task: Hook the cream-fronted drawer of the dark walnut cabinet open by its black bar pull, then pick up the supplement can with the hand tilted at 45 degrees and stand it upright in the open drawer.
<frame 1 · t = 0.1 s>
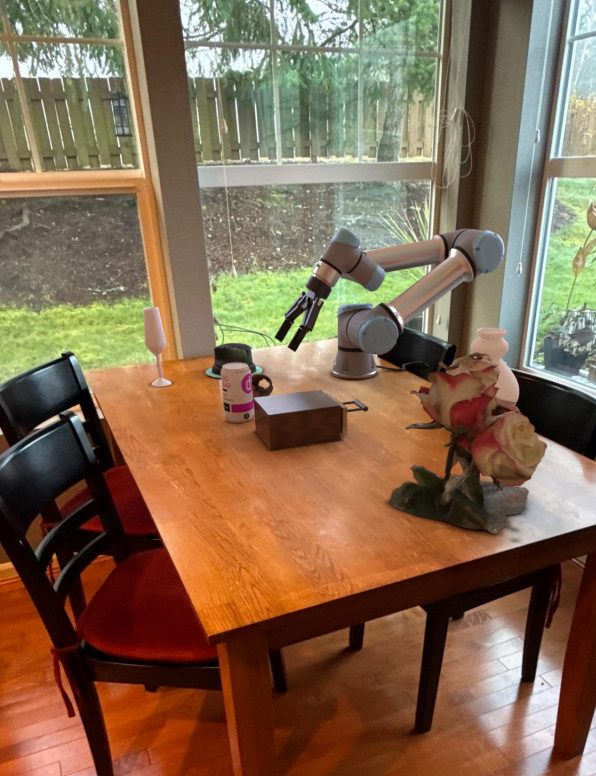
hand: (284, 344, 190), 15 cm above the table, tool tilted 35°, fingers open, 13 cm apart
cabinet: (297, 435, 166), on the table
champagne flute: (161, 384, 210), on the table
dark green rounded hat: (234, 372, 221), on the table
rose bouquet: (468, 500, 132), on the table
drawer: (319, 415, 165), point 5 cm above the table, slide at 1.0 cm
supplement can: (239, 419, 178), on the table
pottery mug: (254, 398, 195), on the table
decorative vase: (480, 425, 171), on the table
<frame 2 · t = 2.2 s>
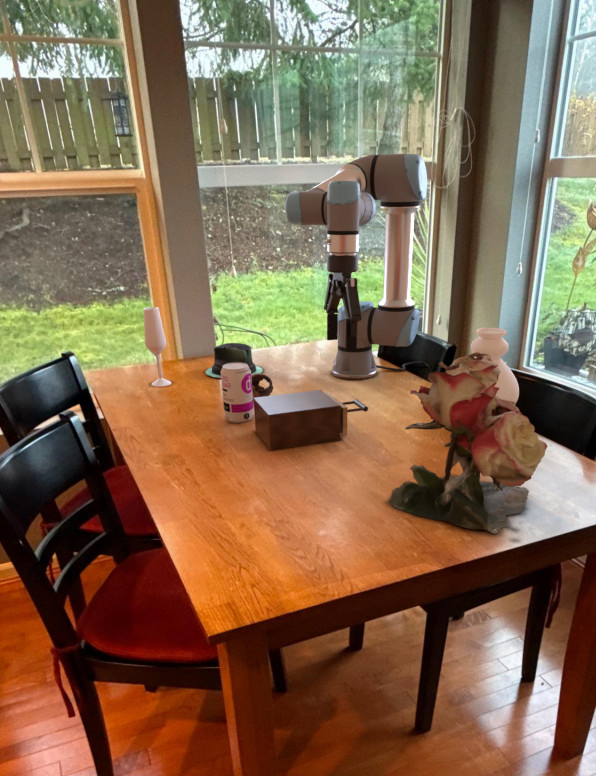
hand: (341, 344, 161), 22 cm above the table, tool pointing down, fingers open, 13 cm apart
nothing on the table moved.
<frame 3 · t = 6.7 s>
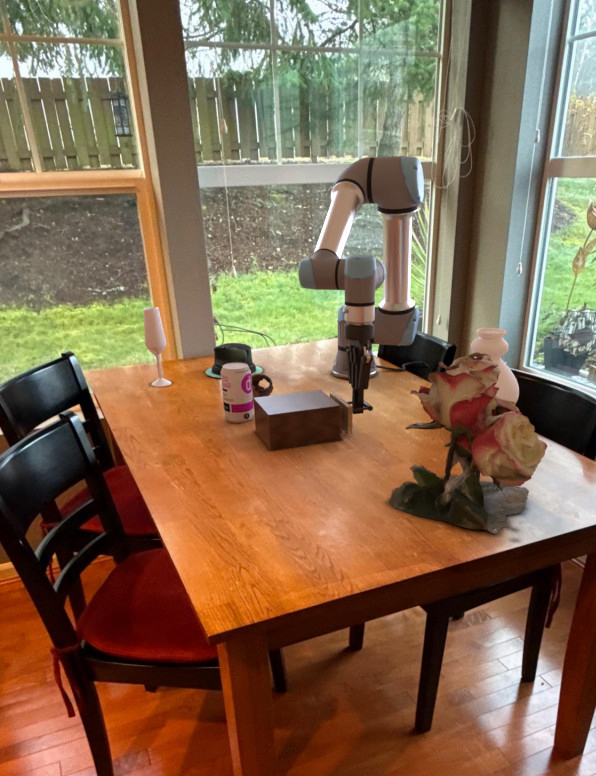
hand: (357, 412, 169), 4 cm above the table, tool pointing down, fingers closed
drawer: (324, 415, 166), point 5 cm above the table, slide at 2.4 cm, touching gripper
everything else where it was.
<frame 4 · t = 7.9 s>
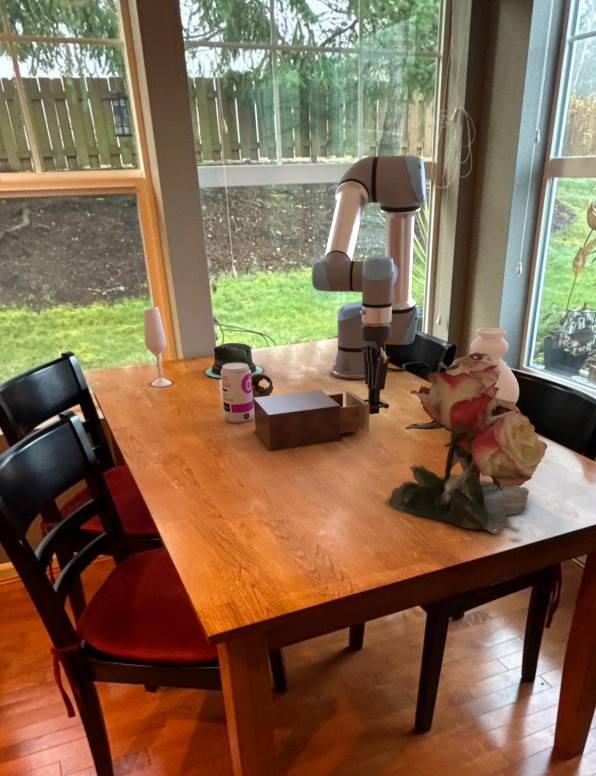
hand: (373, 412, 171), 3 cm above the table, tool pointing down, fingers closed
drawer: (341, 412, 167), point 5 cm above the table, slide at 7.1 cm, touching gripper
everything else where it was.
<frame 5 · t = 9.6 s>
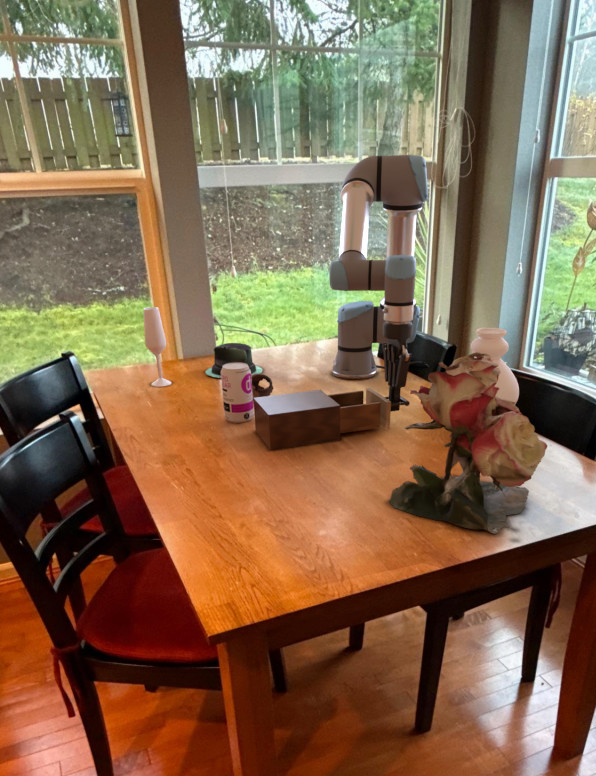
hand: (393, 410, 172), 3 cm above the table, tool pointing down, fingers closed
drawer: (362, 410, 169), point 5 cm above the table, slide at 13.2 cm, touching gripper
everything else where it was.
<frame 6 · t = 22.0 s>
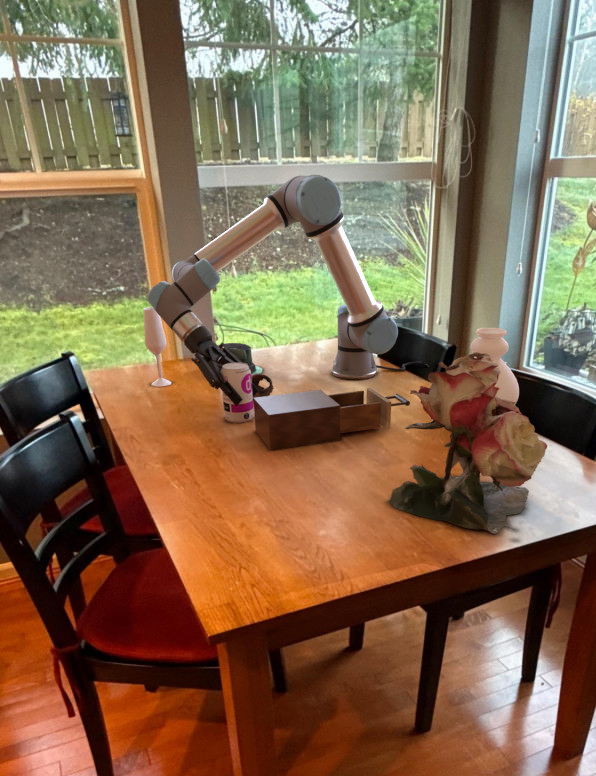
hand: (247, 398, 174), 6 cm above the table, tool tilted 45°, fingers closed on supplement can, 8 cm apart
drawer: (362, 410, 169), point 5 cm above the table, slide at 13.4 cm
supplement can: (239, 419, 178), on the table, touching gripper
everything else where it was.
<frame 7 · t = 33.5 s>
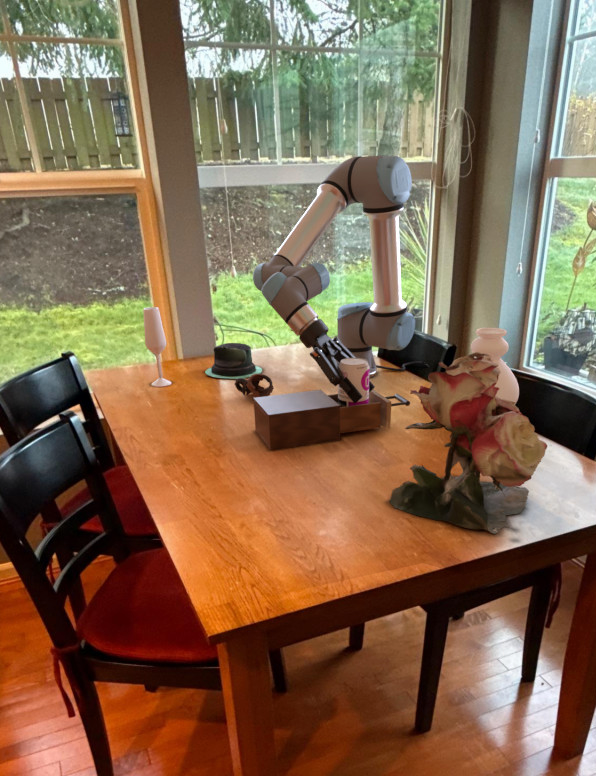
hand: (365, 395, 165), 9 cm above the table, tool tilted 45°, fingers closed on supplement can, 8 cm apart
supplement can: (353, 417, 169), point 3 cm above the table, touching gripper
everything else where it was.
when the fingers open (9 cm above the table, at t = 37.4 s): supplement can stays where it is, resting on drawer.
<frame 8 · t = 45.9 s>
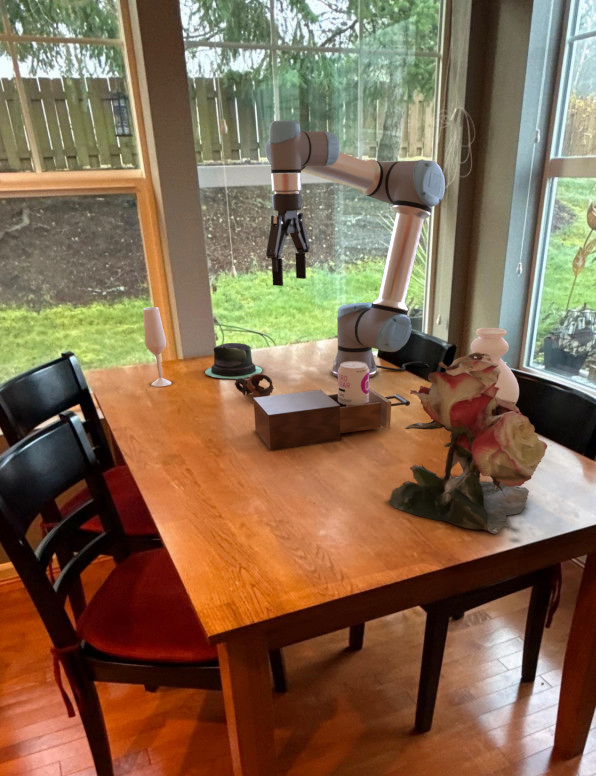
hand: (289, 282, 170), 35 cm above the table, tool pointing down, fingers open, 13 cm apart
drawer: (362, 410, 169), point 5 cm above the table, slide at 13.3 cm, touching supplement can
supplement can: (353, 420, 170), point 2 cm above the table, touching drawer
everything else where it was.
at the end: drawer slide at 13.3 cm; supplement can inside the target area in the drawer (0.2 cm from its centre), point 1.9 cm above the cabinet's base; supplement can tilted 0° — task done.
